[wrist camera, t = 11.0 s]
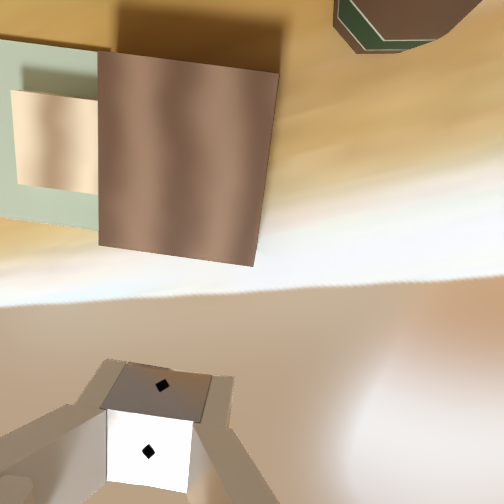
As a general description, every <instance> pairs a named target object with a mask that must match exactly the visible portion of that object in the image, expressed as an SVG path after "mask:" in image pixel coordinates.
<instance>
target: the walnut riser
mask: <svg viewBox="0 0 504 504" xmlns="http://www.w3.org/2000/svg"><path fill="white" fill-rule="evenodd" d="M97 79H98V219H99V245H100V246H107V247H114V248H121V249H128V250H136V251H143V252H150V253H157V254H164V255H171V256H179V257H186V258H193V259H200V260H207V261H214V262H221V263H229V264H236V265H243V266H250V267H253V265H254V260H255V254H256V248H257V240H258V233H259V225H260V218H261V210H262V203H263V195H264V188H265V180H266V173H267V165H268V158H269V150H270V143H271V135H272V128H273V120H274V113H275V105H276V98H277V90H278V83H279V73H271V72H263V71H255V70H248V69H240V68H232V67H224V66H217V65H209V64H201V63H193V62H186V61H178V60H170V59H162V58H154V57H147V56H139V55H131V54H123V53H116V52H108V51H100V50H97Z"/></svg>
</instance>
